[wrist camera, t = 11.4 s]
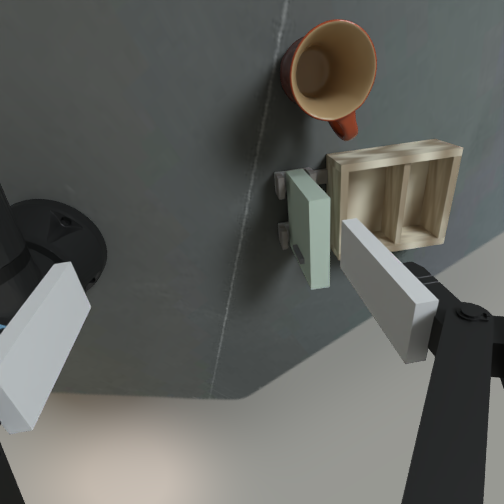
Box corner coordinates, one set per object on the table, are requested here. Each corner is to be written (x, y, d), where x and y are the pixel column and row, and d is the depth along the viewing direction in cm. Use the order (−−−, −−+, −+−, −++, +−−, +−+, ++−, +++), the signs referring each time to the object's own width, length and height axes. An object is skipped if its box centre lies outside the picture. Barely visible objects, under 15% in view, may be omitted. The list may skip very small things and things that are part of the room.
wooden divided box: (279, 248, 53) (287, 268, 48) (273, 161, 46) (281, 173, 41) (420, 226, 54) (443, 243, 49) (435, 138, 48) (463, 147, 42)
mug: (259, 55, 40) (274, 51, 31) (325, 14, 39) (361, -2, 30) (299, 144, 46) (322, 163, 37) (357, 111, 44) (395, 122, 35)
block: (286, 246, 52) (306, 290, 42) (281, 171, 46) (303, 201, 36) (304, 243, 53) (329, 286, 42) (302, 168, 47) (330, 197, 36)
